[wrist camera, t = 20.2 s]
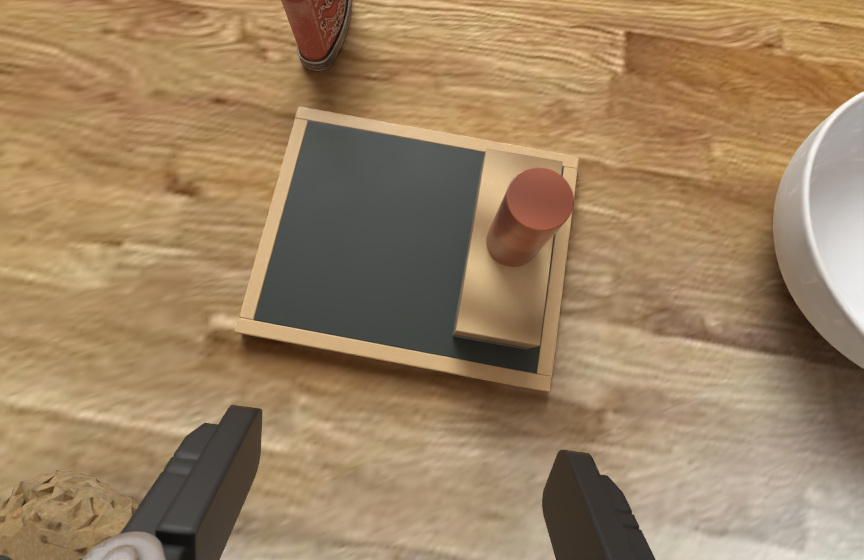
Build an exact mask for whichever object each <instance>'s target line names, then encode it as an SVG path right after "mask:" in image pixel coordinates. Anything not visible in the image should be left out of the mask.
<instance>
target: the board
mask: <svg viewBox="0 0 864 560" xmlns="http://www.w3.org/2000/svg"><path fill="white" fill-rule="evenodd" d="M487 148H490V149H496V150H501V151H507V152H513V153H518V154H524V155H530V156H536V157H541V158H547V159H553V160H558V161H563V165H562V173H561V176H562V177H563V178H564V179H565V180H566V181H567V182H568V184H569V185H570V187H571V189H572V192H573V196H574V194H575V186H576V178H577V168H578V161H579V157H577V156H572V155H566V154H561V153H555V152H550V151H544V150H538V149H533V148H527V147H522V146H516V145H511V144H505V143H500V142H494V141H489V140H483V139H478V138H472V137H466V136H461V135H455V134H450V133H444V132H439V131H433V130H428V129H422V128H417V127H411V126H405V125H400V124H394V123H389V122H383V121H378V120H372V119H367V118H361V117H356V116H350V115H344V114H339V113H333V112H328V111H322V110H317V109H311V108H306V107H300V106H299V107H298V110H297V113H296V117H295V121H294V124H293V128H292V131H291V135H290V138H289V142H288V145H287V149H286V152H285V156H284V160H283V163H282V167H281V170H280V174H279V177H278V181H277V184H276V188H275V191H274V195H273V198H272V202H271V206H270V209H269V213H268V216H267V220H266V223H265V227H264V230H263V234H262V237H261V241H260V244H259V248H258V252H257V255H256V259H255V262H254V266H253V269H252V273H251V276H250V280H249V283H248V287H247V290H246V294H245V298H244V301H243V305H242V308H241V312H240V315H239V317H240V318H239V319H238V322H237V326H236V329H235V332H236V333H240V334H244V335H249V336H255V337H260V338H265V339H270V340H276V341H281V342H286V343H291V344H297V345H302V346H307V347H312V348H318V349H323V350H328V351H334V352H339V353H344V354H349V355H355V356H360V357H365V358H370V359H376V360H381V361H386V362H392V363H397V364H402V365H407V366H413V367H418V368H423V369H428V370H434V371H439V372H444V373H450V374H455V375H460V376H465V377H471V378H476V379H481V380H486V381H492V382H497V383H502V384H508V385H513V386H518V387H523V388H529V389H534V390H539V391H544V392H550V387H551V379H552V377H551V376H552V372H553V364H554V356H555V348H556V339H557V331H558V323H559V315H560V307H561V299H562V291H563V283H564V275H565V267H566V258H567V250H568V242H569V234H570V226H571V218H572V213H571V215H570V217H569V218H568V220H567V221H566V222H565V223H564V224H563V225H562V226H561V227H560V228H559V230H558V231H557V232H556V233H555V234H554V237H553V245H552V253H551V261H550V269H549V277H548V285H547V293H546V301H545V309H544V317H543V325H542V333H541V341H540V346H537V347H534V348H530V349H526V350H525V349H519V348H514V347H508V346H503V345H497V344H492V343H486V342H481V341H475V340H470V339H464V338H459V337H453V336H452V334H453V328H454V322H455V316H456V310H457V304H458V298H459V292H460V286H461V280H462V275H463V269H464V263H465V257H466V251H467V245H468V239H469V233H470V227H471V221H472V215H473V209H474V203H475V197H476V192H477V186H478V180H479V174H480V170H481V166H482V162H483V159H484V155H485V152H486V149H487Z"/></svg>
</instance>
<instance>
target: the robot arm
mask: <svg viewBox="0 0 864 560" xmlns="http://www.w3.org/2000/svg"><path fill="white" fill-rule="evenodd" d="M261 432H262V410H261V409H259V408H251V407H244V406H236V405H231V406H230V407H229V408H228V410H227V411H226V413H225V415H224V416H223V418H222V420H221V421H220V423H219V424H218V425H217V424H209V423H204V424H202V425H201V426H200V427H198V428H197V429H196V430H194V431H193V432H191V433H190V434H189V435H187V436H186V437H185V439H184V440H183V442H182V443H181V445H180V446H179V447H178V449H177V450H176V452H175V453H174V457H172V458H171V459H170V461H169V462H168V464H167V465H166V467H165V468H164V472H162V473H161V474H160V475H159V477H158V478H157V480H156V481H155V483H154V484H153V486H152V487H151V489H150V490H149V492H148V493H147V495H146V496H145V498H144V499H143V501H142V502H141V504H140V505H139V506H138V508H137V509H136V511H135V512H134V514H133V515H132V517H131V518H130V520H129V521H128V523H127V524H126V526H125V527H124V528H123V530H122V531H121V532H120V533H119V534H118V535H116V536H113V537H111V538H109V539H107V540H105V541H103V542H101V543H100V544H98V545H97V546H96V547H94V548H93V549H92V550H91V551H90V552H88V553H87V554H86V555H85V557H84V558H81V559H78V560H219V559H220V557H221V555H222V552H223V550H224V548H225V546H226V543H227V541H228V539H229V536H230V534H231V532H232V529H233V527H234V525H235V522H236V520H237V518H238V515H239V513H240V511H241V508H242V506H243V504H244V501H245V499H246V497H247V495H248V492H249V490H250V488H251V485H252V483H253V481H254V478H255V475H256V472H257V469H258V465H259V460H260V453H261ZM542 507H543V514H544V518H545V522H546V525H547V529H548V533H549V536H550V540H551V543H552V547H553V550H554V554H555V558H556V560H655V558H654V556H653V554H652V551H651V549H650V547H649V545H648V543H647V541H646V539H645V537H644V535H643V533H642V531H641V530H639V525H638V523H637V521H636V519H635V517H634V515H632V510H631V508H630V506H629V504H628V502H627V500H626V498H625V496H624V494H623V492H622V491H621V490H620V489H619V488H618V487H617V486H616V485H615V483H614V482H613V481H612V480H611V479H610V478H609V477H608V476H605V475H600V473H599V471H598V469H597V467H596V465H595V462H594V460H593V458H592V456H591V455H590V454H589V453H583V452H576V451H568V450H560V451H559V452H558V454H557V456H556V459H555V462H554V464H553V467H552V470H551V472H550V475H549V477H548V480H547V483H546V485H545V488H544V491H543V498H542ZM0 560H13V559H11V558H10V557H7V556H4V555H0Z"/></svg>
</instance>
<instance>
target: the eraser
mask: <svg viewBox="0 0 864 560" xmlns="http://www.w3.org/2000/svg"><path fill="white" fill-rule="evenodd" d="M562 165H563V161H558V160H553V159H547V158H541V157H536V156H530V155H524V154H518V153H513V152H507V151H501V150H496V149H490V148H487V149H486V152H485V155H484V159H483V162H482V166H481V170H480V174H479V180H478V186H477V192H476V197H475V203H474V209H473V215H472V221H471V227H470V233H469V239H468V245H467V251H466V257H465V263H464V269H463V275H462V280H461V286H460V292H459V298H458V304H457V310H456V316H455V322H454V328H453V334H452V336H453V337H459V338H464V339H470V340H475V341H481V342H486V343H492V344H497V345H503V346H508V347H514V348H519V349H525V350H526V349H530V348H534V347H537V346H540V341H541V333H542V325H543V317H544V309H545V301H546V293H547V285H548V277H549V269H550V261H551V253H552V245H553V237H554V234H555V233H556V232H557V231H558V230H559V228H560V227H561V226H562V225H563V224H564V223H565V222H566V221H567V220H568V218H569V217H570V215H571V213H572V210H573V206H574V196H573V192H572V189H571V187H570V185H569V184H568V182H567V181H566V180H565V179H564V178H563V177H562V176H561V173H562Z"/></svg>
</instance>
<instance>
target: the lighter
mask: <svg viewBox="0 0 864 560" xmlns="http://www.w3.org/2000/svg"><path fill="white" fill-rule="evenodd" d="M281 1H282V4H283V6H284V9H285V12H286V15H287V17H288V20H289V23H290V25H291V28H292V31H293V34H294V36H295V39H296V42H297V45H298V55H299V57H300V60H301V62H302V64H303V65H304V66H305V67H307V68H308V69H311V70H316V71H320V70H325V69H326V68H328V67H330V66H331V64H332V63H333V61H334V59H335V58H336V56H337V54H338V52H339V50H340V48H341V46H342V43H343V41H344V38H345V36H346V33H347V30H348V25H349V20H350V16H351V3H352V0H281Z"/></svg>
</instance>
